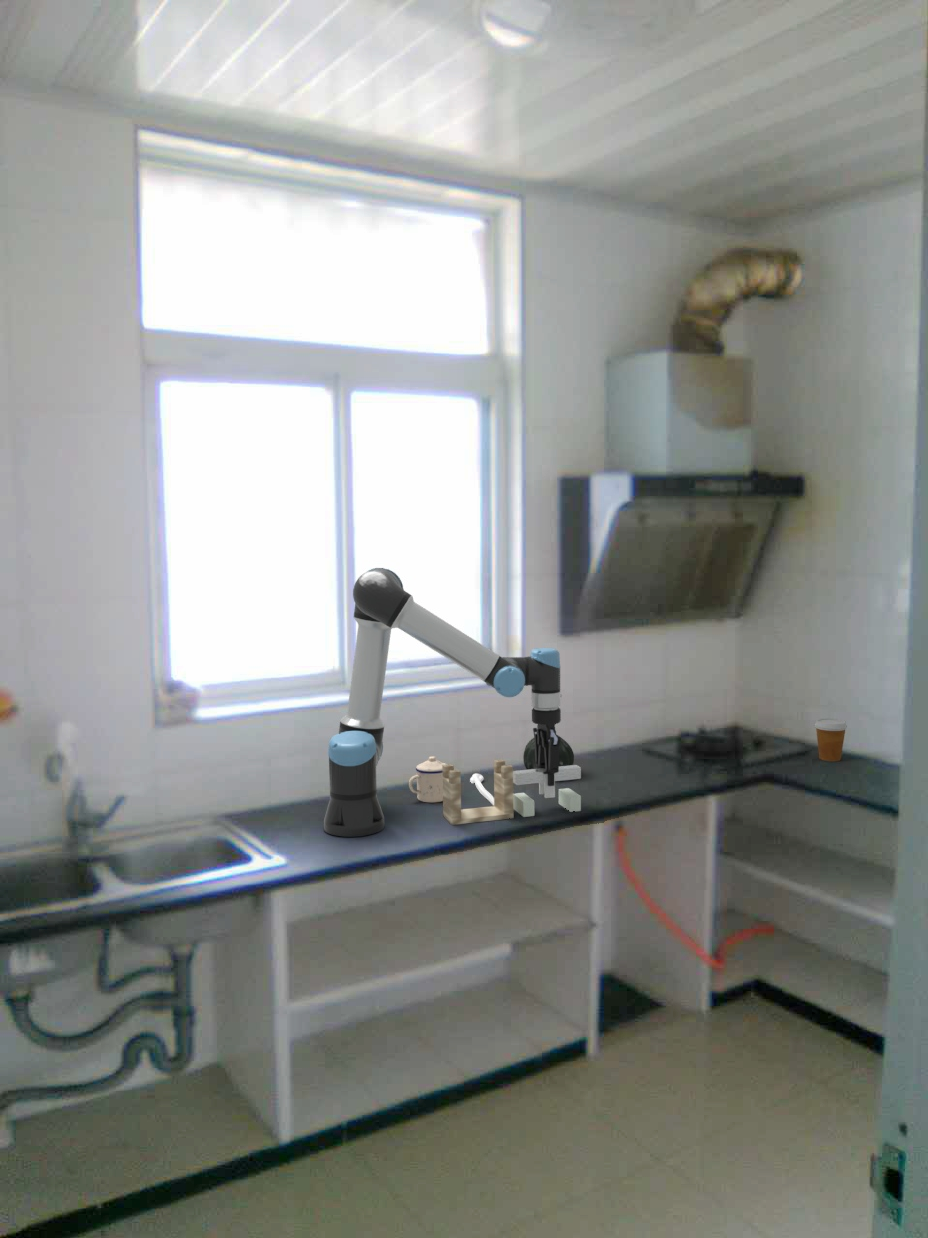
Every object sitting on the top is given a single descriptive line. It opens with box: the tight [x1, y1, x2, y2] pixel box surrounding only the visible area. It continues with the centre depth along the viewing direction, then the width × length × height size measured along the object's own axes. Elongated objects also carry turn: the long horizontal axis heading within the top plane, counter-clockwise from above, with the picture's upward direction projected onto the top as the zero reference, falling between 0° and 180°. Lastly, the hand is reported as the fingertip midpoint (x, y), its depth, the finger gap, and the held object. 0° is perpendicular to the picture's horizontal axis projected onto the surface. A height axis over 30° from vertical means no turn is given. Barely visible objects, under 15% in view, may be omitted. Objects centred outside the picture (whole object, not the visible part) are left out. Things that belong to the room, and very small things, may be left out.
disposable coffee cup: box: [814, 718, 848, 762], centre depth 309 cm, size 10×10×12 cm
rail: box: [513, 764, 582, 786], centre depth 260 cm, size 18×3×3 cm, turn 107°
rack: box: [442, 759, 514, 826], centre depth 255 cm, size 16×8×14 cm, turn 107°
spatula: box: [469, 773, 494, 806], centre depth 278 cm, size 28×4×3 cm, turn 13°
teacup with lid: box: [408, 756, 448, 803], centre depth 272 cm, size 12×9×12 cm
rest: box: [513, 787, 582, 818], centre depth 261 cm, size 16×8×4 cm, turn 107°
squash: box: [523, 733, 575, 770], centre depth 294 cm, size 14×15×15 cm
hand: (547, 795), depth 261 cm, fingers closed on rail, 3 cm apart
